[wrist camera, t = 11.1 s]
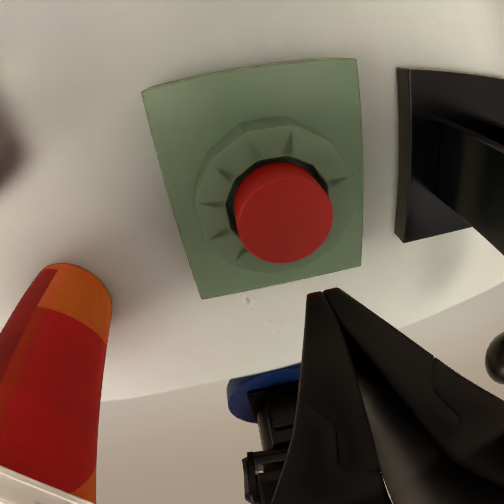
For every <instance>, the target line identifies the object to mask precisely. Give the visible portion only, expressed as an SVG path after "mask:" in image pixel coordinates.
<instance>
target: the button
mask: <svg viewBox="0 0 504 504" xmlns="http://www.w3.org/2000/svg"><path fill="white" fill-rule="evenodd" d="M234 214H235V220H236V225H237V231H238V235H239V238H240V240H241V242H242V244H243V245H244V247H245V248H246V249H247V250H248V251H249V252H250V253H251V254H252V255H254V256H256V257H257V258H259V259H261V260H264V261H267V262H271V263H289V262H294V261H297V260H300V259H303V258H305V257H307V256H308V255H310V254H311V253H313V252H314V251H315V250H317V249H318V248H319V247H320V246H321V245H322V243H323V242H324V241H325V239H326V238H327V236H328V234H329V232H330V229H331V226H332V221H333V208H332V204H331V201H330V199H329V197H328V195H327V194H326V192H325V191H324V190H323V188H322V187H321V186H320V185H319V184H318V182H317V181H316V180H315V179H314V178H313V176H312V175H311V174H310V173H309V172H308V171H306V170H305V169H304V168H302V167H300V166H298V165H296V164H292V163H287V162H274V163H269V164H265V165H263V166H260V167H258V168H256V169H255V170H253V171H252V172H250V173H249V174H248V175H247V176H246V177H245V178H244V179H243V181H242V182H241V183H240V185H239V186H238V189H237V191H236V194H235V197H234Z"/></svg>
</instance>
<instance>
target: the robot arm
mask: <svg viewBox="0 0 504 504" xmlns="http://www.w3.org/2000/svg"><path fill="white" fill-rule="evenodd" d="M247 398H248V401H249V404H250V406H251V409H252V412H253V415H254V418H255V420H256V421H257V422H258V426H259V432H260V438H261V444H262V449H263V451H259V452H247V457H246V458H244V459H242V462H243V470H244V484H245V485H244V487H245V499H246V501H248V502H249V503H251V504H392V502H391V500H390V498H389V496H388V493H387V490H386V488H385V484H384V481H385V483H386V486H387V489H388V491H389V494H390V496H391V499H392V501H393V504H504V401H503V400H502V399H500V398H498V397H496V396H495V395H493V394H491V393H489V392H488V391H486V390H484V389H482V388H481V387H479V386H477V385H476V384H474V383H472V382H471V381H469V380H467V379H466V378H464V377H463V376H461V375H460V374H458V373H457V372H455V371H454V370H453V369H451V368H450V367H448V366H447V365H445V364H444V363H443V362H441V361H440V360H439V359H437V358H434V356H433V355H431V354H430V353H429V352H427V351H426V350H425V349H423V348H422V347H420V346H419V345H418V344H416V343H415V342H414V341H412V340H411V339H410V338H408V337H407V336H405V335H404V334H403V333H401V332H400V331H398V330H397V329H396V328H394V327H393V326H392V325H390V324H389V323H387V322H386V321H385V320H383V319H382V318H380V317H379V316H378V315H376V314H375V313H373V312H372V311H371V310H369V309H368V308H366V307H365V306H364V305H362V304H361V303H359V302H358V301H357V300H355V299H354V298H352V297H351V296H350V295H348V294H347V293H345V292H344V291H342V290H341V289H339V288H332V289H327V290H324V291H323V292H321V291H319V292H314V293H310V294H308V295H307V300H306V314H305V327H304V339H303V350H302V361H301V371H300V380H298V381H294V382H289V383H285V384H280V385H275V386H271V387H266V388H261V389H255V390H250V391H248V392H247ZM262 470H263V472H264V473H259V471H262ZM380 472H381V473H380ZM382 476H383V477H382ZM383 478H384V481H383Z"/></svg>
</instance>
